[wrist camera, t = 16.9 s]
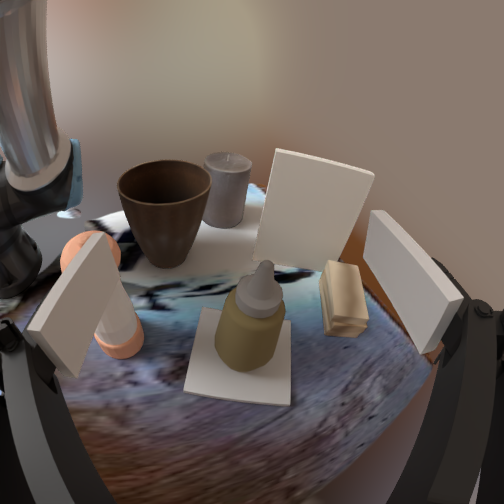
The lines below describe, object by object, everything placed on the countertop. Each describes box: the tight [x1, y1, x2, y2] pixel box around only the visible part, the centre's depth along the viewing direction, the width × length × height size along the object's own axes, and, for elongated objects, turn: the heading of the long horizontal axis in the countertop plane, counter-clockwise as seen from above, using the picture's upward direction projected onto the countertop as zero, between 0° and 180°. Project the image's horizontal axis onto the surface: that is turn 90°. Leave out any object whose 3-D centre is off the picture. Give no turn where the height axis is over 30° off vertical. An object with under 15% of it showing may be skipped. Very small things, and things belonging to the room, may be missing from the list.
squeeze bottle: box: [215, 260, 286, 372], centre depth 30 cm, size 8×8×18 cm
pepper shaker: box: [60, 231, 144, 359], centre depth 29 cm, size 7×7×19 cm
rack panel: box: [252, 148, 375, 272], centre depth 46 cm, size 16×2×22 cm, turn 86°
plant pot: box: [117, 160, 212, 268], centre depth 44 cm, size 15×15×16 cm
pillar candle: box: [202, 152, 252, 228], centre depth 56 cm, size 10×10×15 cm
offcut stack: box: [319, 260, 369, 338], centre depth 44 cm, size 7×13×5 cm, turn 176°
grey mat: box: [183, 307, 291, 406], centre depth 37 cm, size 14×14×1 cm
